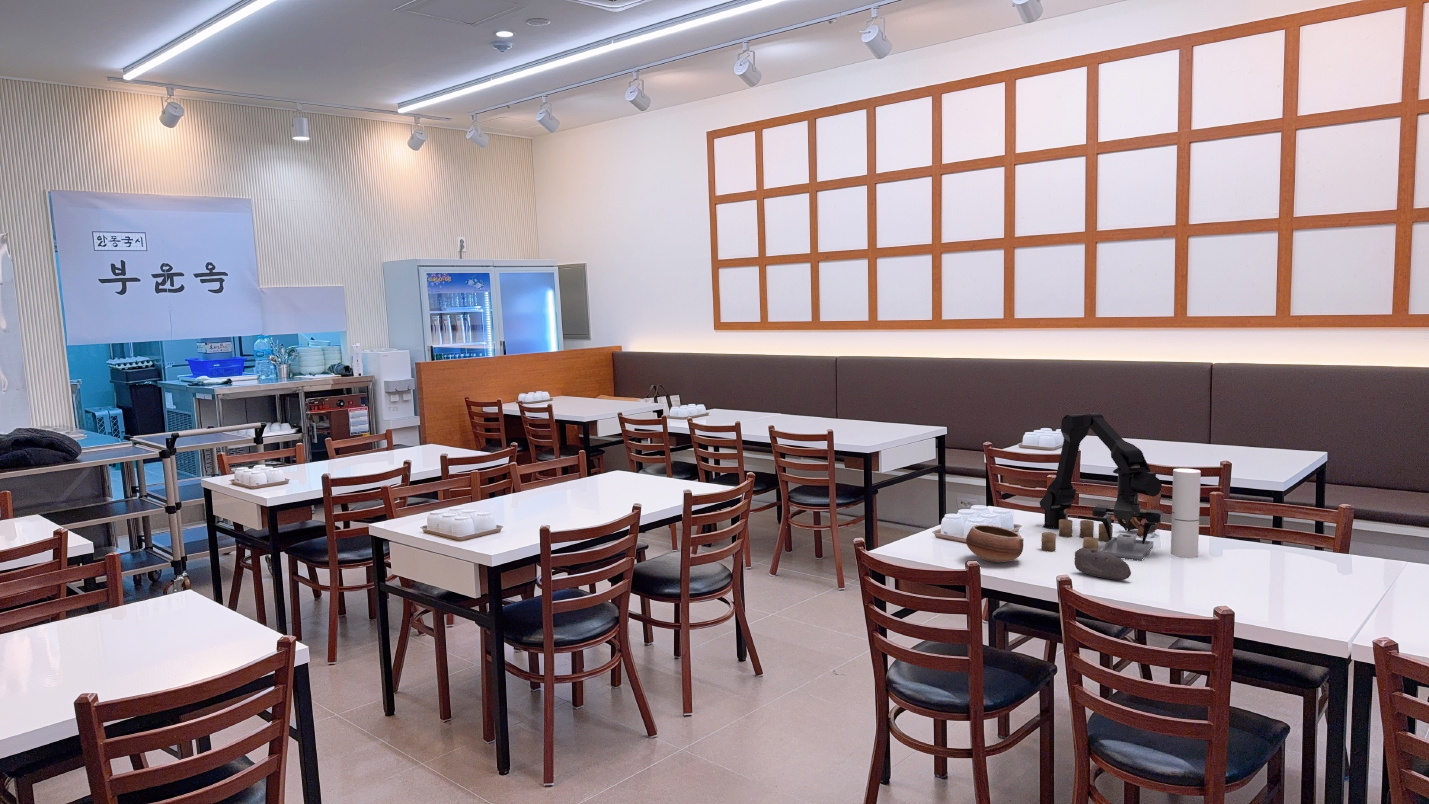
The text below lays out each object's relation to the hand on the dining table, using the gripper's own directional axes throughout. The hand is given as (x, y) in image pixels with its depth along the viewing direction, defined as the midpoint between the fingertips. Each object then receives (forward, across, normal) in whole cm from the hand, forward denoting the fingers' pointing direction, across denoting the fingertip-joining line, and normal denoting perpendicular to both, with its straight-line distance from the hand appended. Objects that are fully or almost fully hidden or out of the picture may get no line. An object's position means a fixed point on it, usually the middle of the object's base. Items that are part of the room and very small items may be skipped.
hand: (1126, 541), depth 277 cm
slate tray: (+3, 0, 0) cm, 3 cm away
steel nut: (+2, 0, 0) cm, 2 cm away
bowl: (+3, -30, -31) cm, 43 cm away
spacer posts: (+3, -14, 0) cm, 14 cm away
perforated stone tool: (+3, 0, -32) cm, 32 cm away
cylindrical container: (+3, +15, +4) cm, 16 cm away
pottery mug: (+3, -1, +24) cm, 25 cm away
